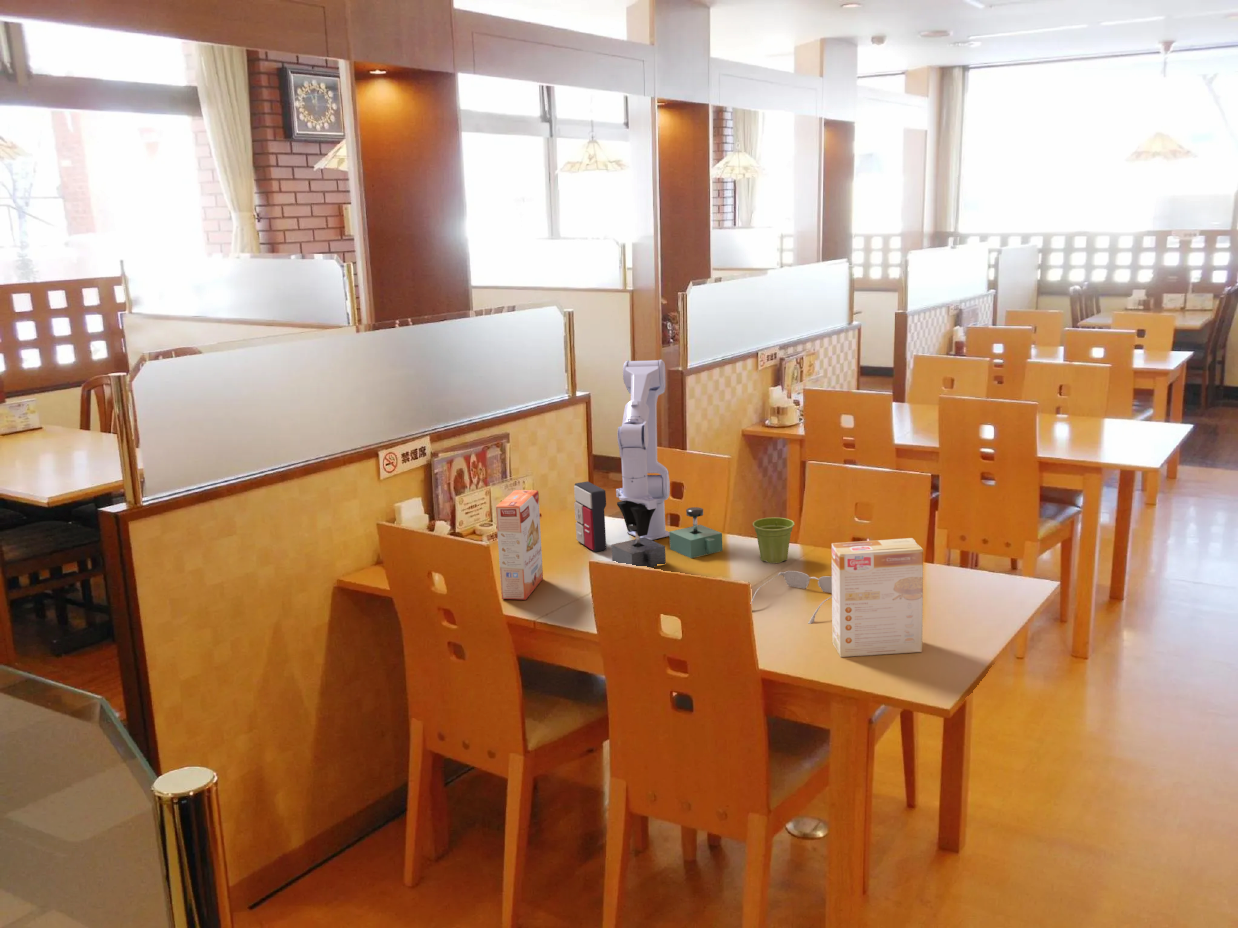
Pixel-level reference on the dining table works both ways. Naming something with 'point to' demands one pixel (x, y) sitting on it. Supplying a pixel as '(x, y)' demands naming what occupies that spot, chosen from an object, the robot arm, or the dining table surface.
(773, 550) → the plant pot
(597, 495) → the red grey tall block
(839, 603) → the coffeecake box
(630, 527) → the charcoal plunger
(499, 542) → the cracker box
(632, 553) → the charcoal press
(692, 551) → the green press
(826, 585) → the eyeglasses
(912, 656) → the dining table surface
